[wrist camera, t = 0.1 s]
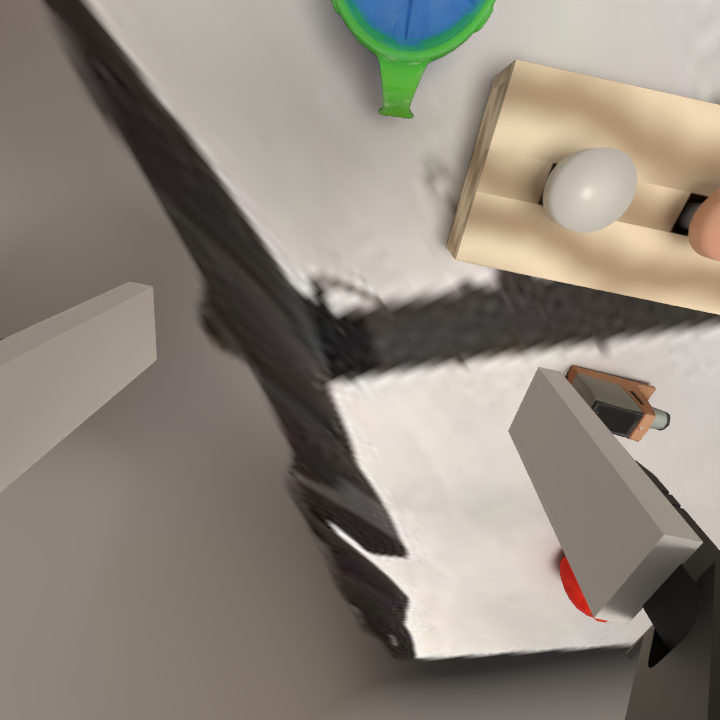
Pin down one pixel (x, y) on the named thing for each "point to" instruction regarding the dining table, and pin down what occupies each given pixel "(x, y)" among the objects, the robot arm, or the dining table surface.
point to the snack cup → (410, 38)
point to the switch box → (583, 131)
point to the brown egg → (703, 225)
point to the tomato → (574, 589)
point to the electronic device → (618, 402)
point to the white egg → (590, 189)
